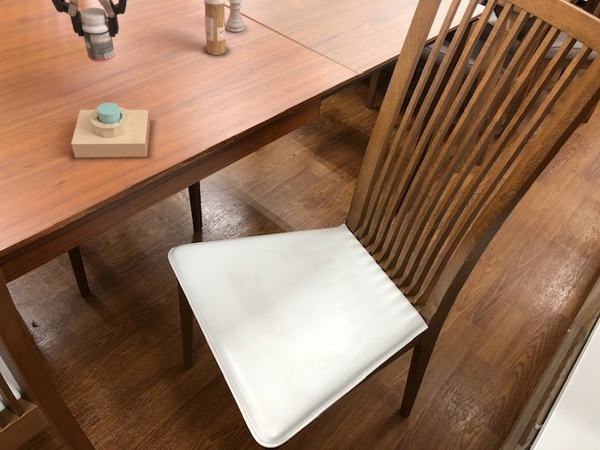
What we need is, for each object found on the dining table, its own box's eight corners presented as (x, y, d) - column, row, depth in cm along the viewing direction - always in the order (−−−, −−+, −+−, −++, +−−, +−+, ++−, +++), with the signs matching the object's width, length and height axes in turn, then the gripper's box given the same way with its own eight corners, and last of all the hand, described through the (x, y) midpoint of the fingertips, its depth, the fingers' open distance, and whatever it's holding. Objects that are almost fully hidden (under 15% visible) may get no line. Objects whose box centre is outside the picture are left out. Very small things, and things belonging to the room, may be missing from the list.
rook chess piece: (227, 33, 123) (227, 0, 117) (224, 24, 126) (224, -8, 120) (245, 33, 124) (246, 0, 118) (242, 24, 127) (243, -8, 121)
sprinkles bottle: (227, 55, 116) (226, -5, 106) (207, 56, 114) (205, -4, 105) (224, 45, 119) (223, -14, 109) (204, 46, 117) (201, -14, 108)
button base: (74, 157, 87) (68, 134, 83) (83, 123, 94) (77, 100, 90) (147, 156, 89) (143, 133, 85) (150, 123, 96) (147, 100, 92)
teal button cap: (97, 124, 86) (95, 114, 85) (100, 112, 89) (98, 102, 87) (119, 124, 87) (117, 114, 86) (121, 112, 89) (119, 102, 88)
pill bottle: (87, 51, 94) (78, 6, 88) (114, 49, 95) (106, 5, 89) (89, 64, 91) (78, 19, 85) (116, 62, 92) (108, 17, 86)
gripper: (126, -77, 81) (140, 26, 94) (31, -82, 79) (58, 24, 91) (122, -60, 76) (137, 46, 89) (20, -65, 74) (50, 44, 86)
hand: (97, 34), depth 90 cm, fingers closed on pill bottle, 4 cm apart
